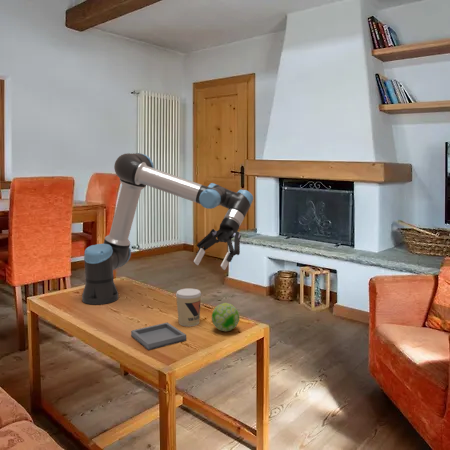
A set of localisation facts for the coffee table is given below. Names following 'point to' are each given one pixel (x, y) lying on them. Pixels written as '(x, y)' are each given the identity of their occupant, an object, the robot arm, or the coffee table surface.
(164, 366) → the coffee table surface
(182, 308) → the coffee cup
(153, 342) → the tray
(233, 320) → the decorative ball
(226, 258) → the robot arm
